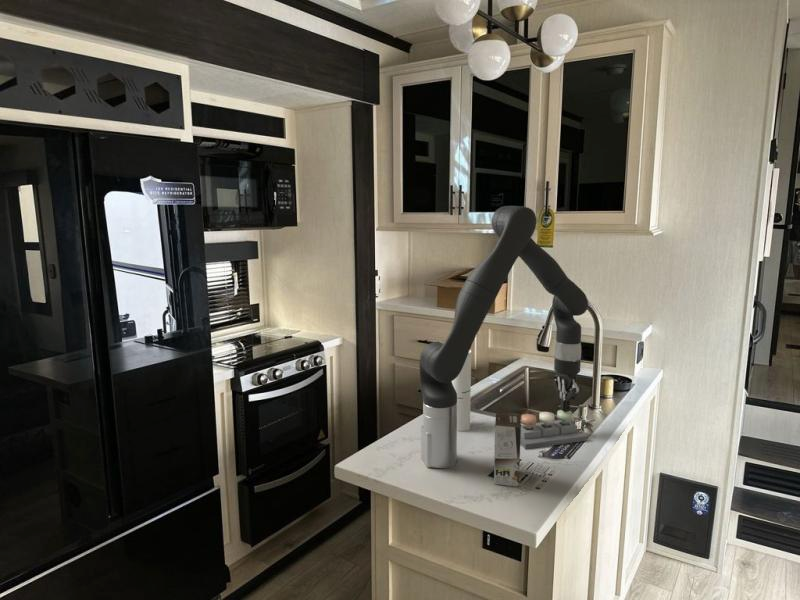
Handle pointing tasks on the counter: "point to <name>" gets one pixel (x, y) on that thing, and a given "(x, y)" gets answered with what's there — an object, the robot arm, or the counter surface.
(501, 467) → the coffee box
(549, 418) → the cream button
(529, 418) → the terracotta button
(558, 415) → the sage button
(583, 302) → the robot arm
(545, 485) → the counter surface
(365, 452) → the counter surface
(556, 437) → the console
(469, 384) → the cylindrical container
